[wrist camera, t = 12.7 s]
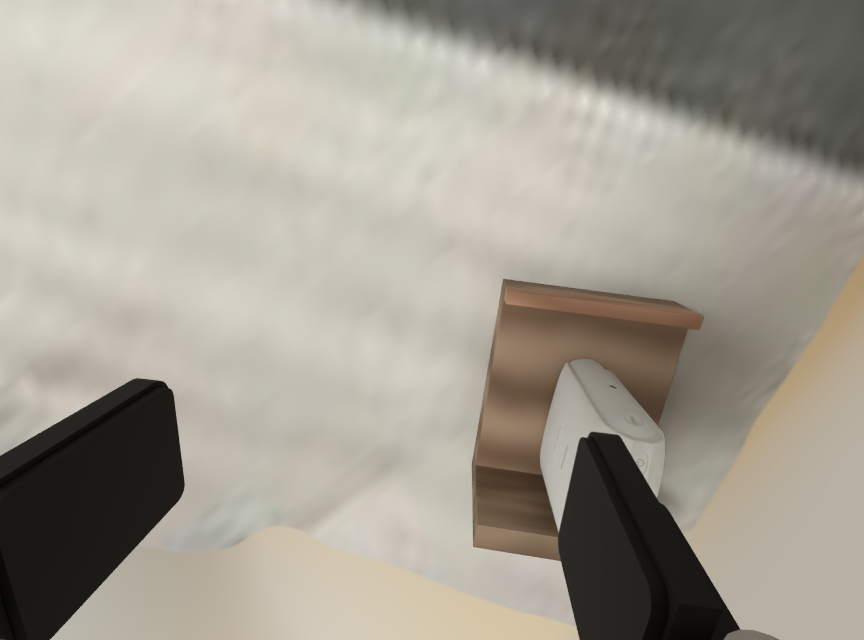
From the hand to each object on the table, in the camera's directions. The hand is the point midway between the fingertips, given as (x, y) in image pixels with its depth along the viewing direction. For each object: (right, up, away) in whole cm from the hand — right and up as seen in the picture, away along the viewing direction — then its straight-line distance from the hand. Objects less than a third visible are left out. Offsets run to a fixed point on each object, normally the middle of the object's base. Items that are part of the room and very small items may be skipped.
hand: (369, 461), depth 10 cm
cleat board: (+13, -2, +27) cm, 31 cm away
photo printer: (+13, -4, +25) cm, 29 cm away
